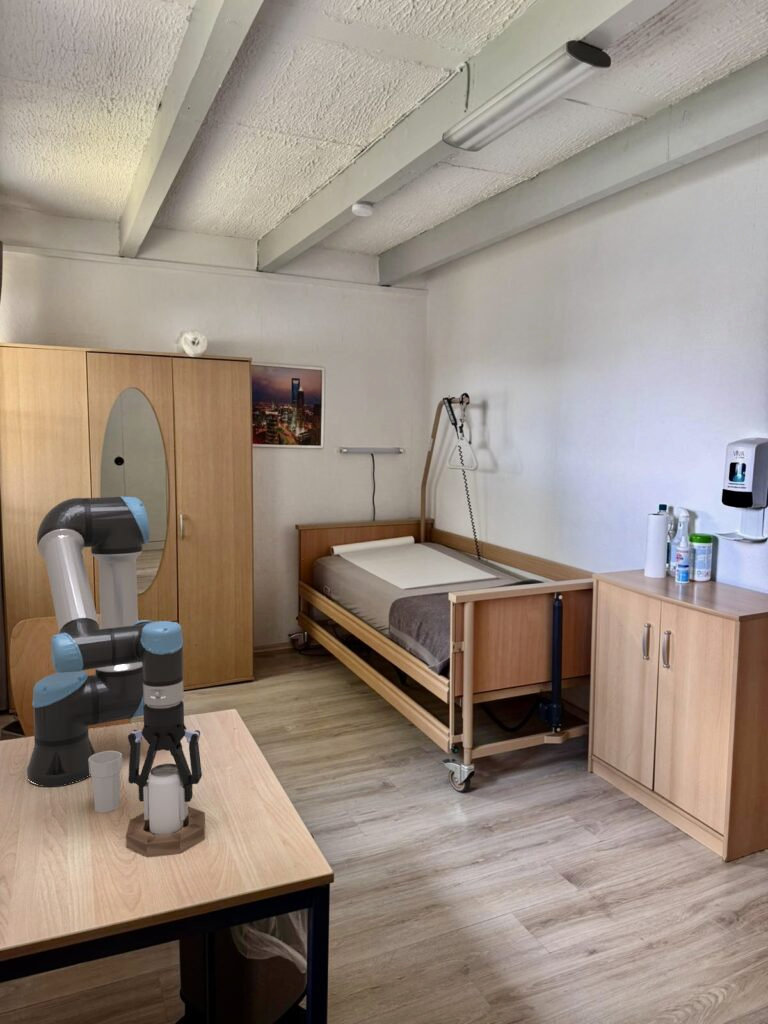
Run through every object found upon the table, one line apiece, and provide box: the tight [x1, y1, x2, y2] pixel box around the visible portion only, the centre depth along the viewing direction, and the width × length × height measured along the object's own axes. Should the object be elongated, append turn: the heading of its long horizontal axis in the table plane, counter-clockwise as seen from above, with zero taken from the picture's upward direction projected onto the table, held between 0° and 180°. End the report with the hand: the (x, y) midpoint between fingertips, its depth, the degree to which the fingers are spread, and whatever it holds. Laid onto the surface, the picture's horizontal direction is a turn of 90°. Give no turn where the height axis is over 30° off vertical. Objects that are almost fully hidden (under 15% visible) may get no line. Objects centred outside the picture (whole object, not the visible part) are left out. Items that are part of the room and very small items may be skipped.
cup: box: [88, 750, 123, 814], centre depth 156 cm, size 7×7×11 cm
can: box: [147, 763, 184, 835], centre depth 145 cm, size 6×6×12 cm
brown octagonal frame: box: [125, 805, 206, 858], centre depth 145 cm, size 14×14×2 cm
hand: (166, 816), depth 145 cm, fingers closed on can, 6 cm apart
